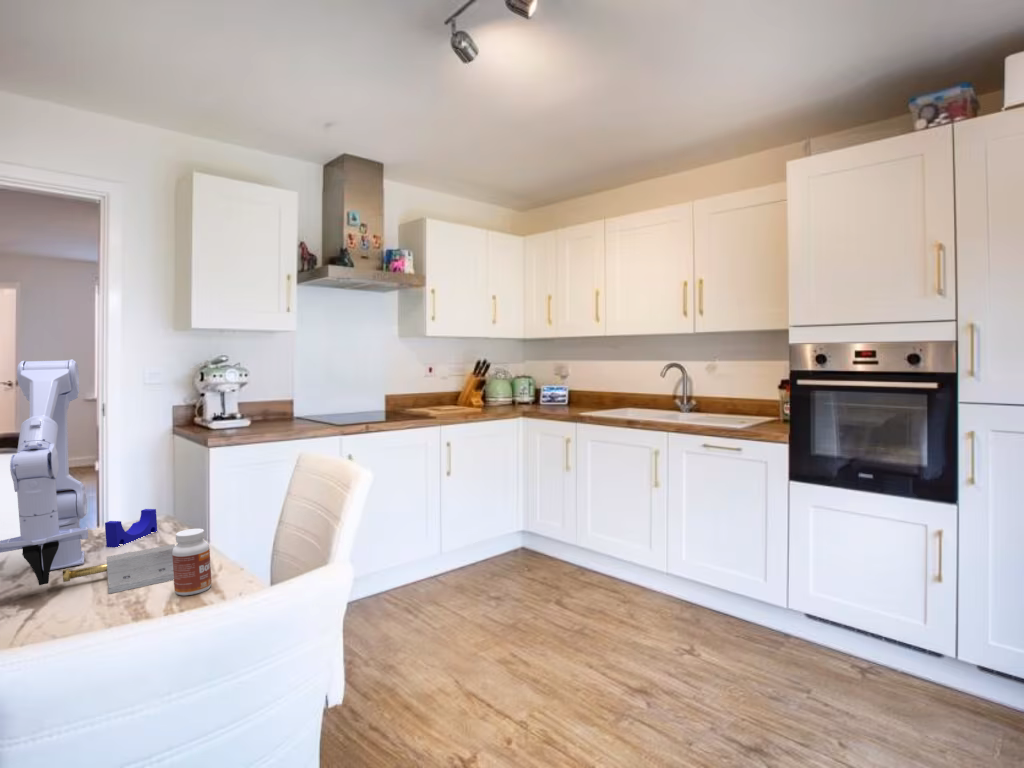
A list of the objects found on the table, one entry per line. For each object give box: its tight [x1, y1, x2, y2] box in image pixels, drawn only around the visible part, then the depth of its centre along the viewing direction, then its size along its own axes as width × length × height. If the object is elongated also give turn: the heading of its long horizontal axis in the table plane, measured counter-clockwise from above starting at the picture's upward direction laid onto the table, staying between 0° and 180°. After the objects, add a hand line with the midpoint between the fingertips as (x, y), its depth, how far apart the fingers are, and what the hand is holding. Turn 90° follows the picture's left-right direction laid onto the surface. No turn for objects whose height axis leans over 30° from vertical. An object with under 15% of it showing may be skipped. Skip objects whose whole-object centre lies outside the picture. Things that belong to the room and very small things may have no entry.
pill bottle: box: [172, 528, 212, 597], centre depth 110 cm, size 6×6×11 cm
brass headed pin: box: [62, 563, 107, 583], centre depth 117 cm, size 13×2×2 cm, turn 125°
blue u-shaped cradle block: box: [104, 508, 158, 548], centre depth 143 cm, size 12×4×6 cm, turn 169°
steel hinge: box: [105, 543, 176, 594], centre depth 121 cm, size 12×20×4 cm, turn 35°
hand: (43, 583), depth 111 cm, fingers closed
